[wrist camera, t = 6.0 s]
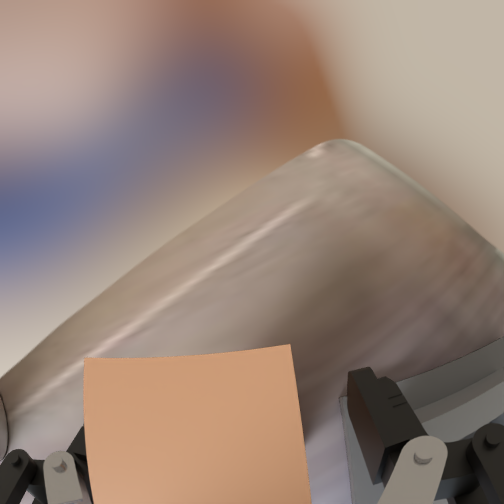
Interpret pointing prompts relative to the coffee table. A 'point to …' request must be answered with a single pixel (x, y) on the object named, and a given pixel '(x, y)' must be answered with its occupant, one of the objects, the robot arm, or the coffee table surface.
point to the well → (439, 409)
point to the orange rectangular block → (195, 429)
